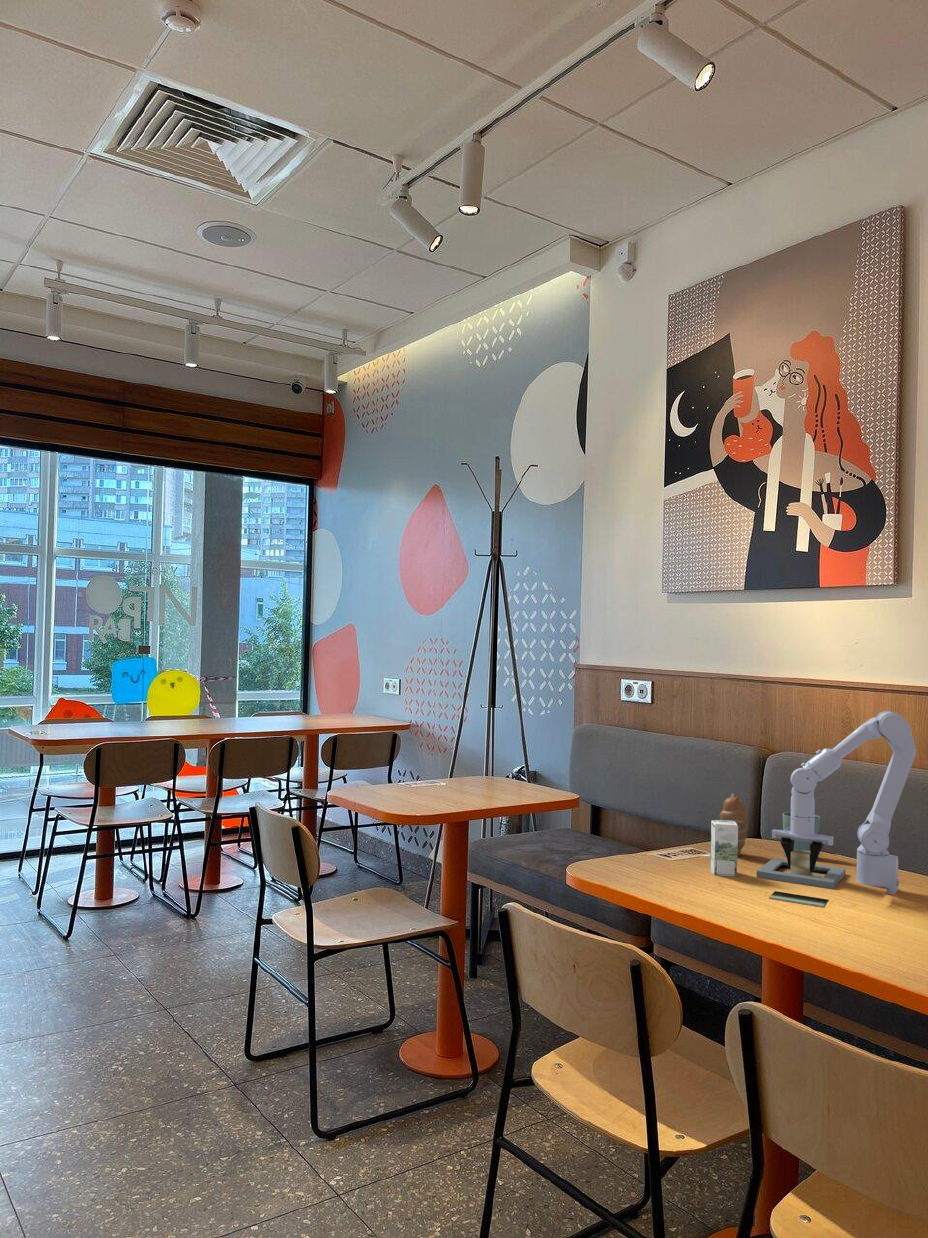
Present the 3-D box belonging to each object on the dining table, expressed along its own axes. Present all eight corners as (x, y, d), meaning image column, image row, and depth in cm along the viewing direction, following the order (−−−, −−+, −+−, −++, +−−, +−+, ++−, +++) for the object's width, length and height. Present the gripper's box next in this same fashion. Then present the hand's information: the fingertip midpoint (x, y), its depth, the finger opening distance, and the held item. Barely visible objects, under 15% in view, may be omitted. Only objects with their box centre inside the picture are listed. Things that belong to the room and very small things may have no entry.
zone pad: (830, 897, 215) (830, 896, 215) (823, 907, 206) (823, 905, 206) (778, 889, 221) (778, 888, 221) (769, 898, 213) (769, 896, 213)
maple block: (812, 875, 231) (812, 851, 231) (809, 878, 227) (809, 854, 227) (794, 872, 233) (794, 849, 233) (790, 876, 229) (790, 852, 229)
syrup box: (732, 876, 233) (733, 820, 233) (737, 882, 227) (738, 824, 227) (709, 875, 233) (711, 819, 234) (713, 881, 227) (715, 823, 228)
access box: (845, 880, 233) (845, 868, 233) (833, 895, 217) (833, 882, 217) (772, 869, 242) (773, 858, 242) (756, 883, 227) (756, 871, 227)
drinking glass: (775, 853, 262) (775, 811, 263) (807, 853, 264) (807, 811, 265) (793, 861, 253) (794, 818, 253) (827, 861, 254) (827, 818, 255)
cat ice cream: (751, 863, 248) (752, 797, 249) (722, 862, 248) (723, 796, 249) (742, 856, 257) (743, 792, 258) (714, 855, 257) (715, 791, 258)
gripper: (835, 817, 230) (834, 871, 229) (776, 810, 237) (775, 863, 237) (830, 821, 224) (829, 876, 223) (770, 814, 231) (769, 868, 231)
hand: (801, 870), depth 230 cm, fingers closed on maple block, 4 cm apart
